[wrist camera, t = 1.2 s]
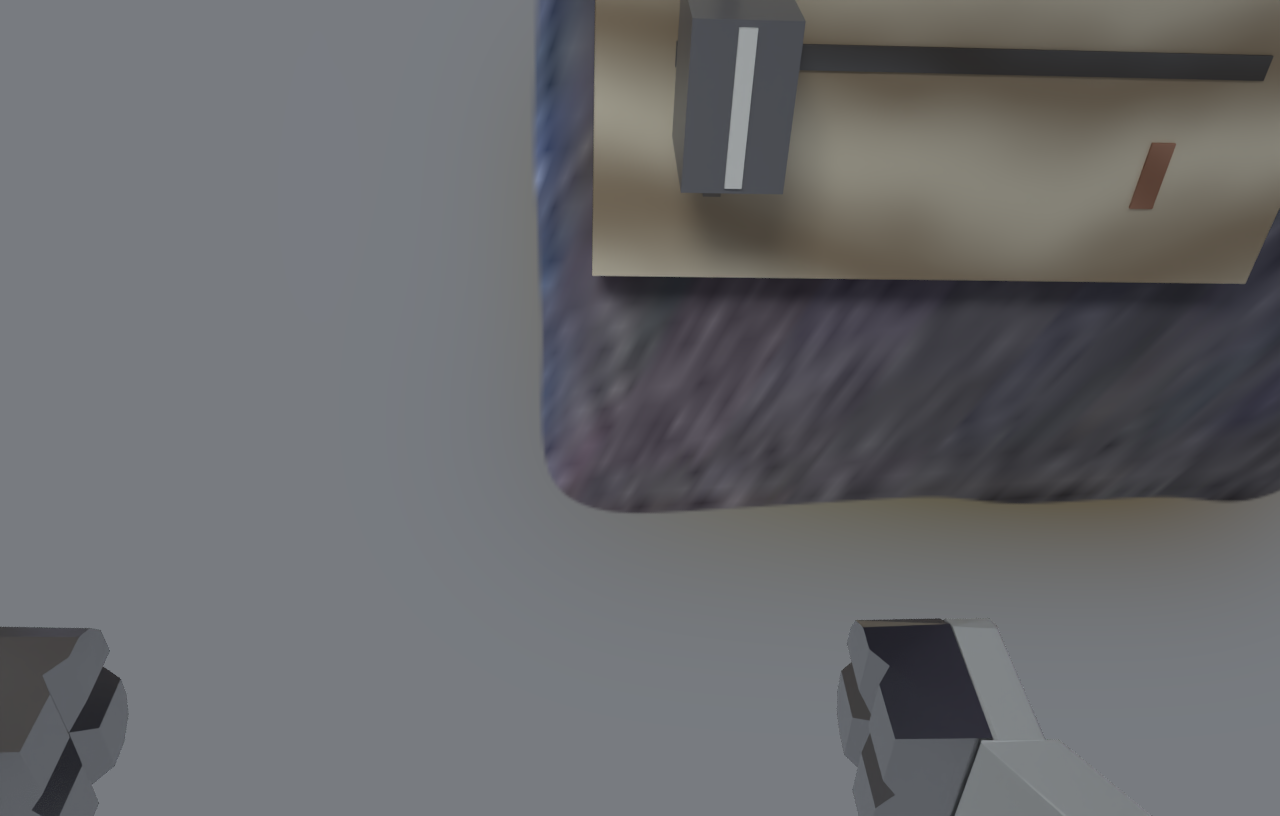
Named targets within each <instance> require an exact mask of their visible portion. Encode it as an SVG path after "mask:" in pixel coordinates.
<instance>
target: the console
mask: <svg viewBox="0 0 1280 816" xmlns="http://www.w3.org/2000/svg"><path fill="white" fill-rule="evenodd" d="M795 1H796V3H797V5H798V7H799V9H800V11H801V13H802V15H803V17H804V19H805V21H806V23H805V31H804V39H803V46H802V54H801V61H800V69H799V76H798V84H797V92H796V99H795V107H794V114H793V122H792V129H791V137H790V144H789V152H788V160H787V167H786V175H785V182H784V190H783V194H727V193H681V191H680V184H679V178H678V171H677V165H676V158H675V152H674V145H673V139H672V130H673V113H674V96H675V80H676V63H677V46H678V29H679V12H680V0H595V47H594V136H593V226H592V276H651V277H731V278H812V279H893V280H974V281H1055V282H1136V283H1216V284H1245V283H1246V281H1247V279H1248V277H1249V274H1250V272H1251V270H1252V268H1253V265H1254V263H1255V261H1256V259H1257V257H1258V254H1259V252H1260V250H1261V248H1262V246H1263V243H1264V241H1265V239H1266V237H1267V234H1268V232H1269V230H1270V228H1271V226H1272V223H1273V221H1274V219H1275V217H1276V215H1277V212H1278V210H1279V208H1280V0H795Z"/></svg>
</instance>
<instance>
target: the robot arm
mask: <svg viewBox="0 0 1280 816" xmlns="http://www.w3.org/2000/svg"><path fill="white" fill-rule="evenodd" d="M847 645H848V649H849V653H850V657H851V661H852V662H851V663H850V664H849V665H848V666H846V667H845V668H844V669H843V670H842V671H841V675H840V680H839V686H838V691H837V716H838V725H839V732H840V738H841V742H842V747H843V751H844V755H845V756H846V757H847V758H849V760H850V761H851V762H853V763H854V764H855V765H856V766H857V767H858V769H857V773H856V778H855V782H854V786H853V794H854V798H855V803H856V807H857V811H858V815H859V816H1152V815H1151V814H1149V813H1148V812H1147V811H1146V810H1144V809H1143V808H1142V807H1141V806H1140V805H1138V804H1137V803H1136V802H1135V801H1133V800H1132V799H1131V798H1129V796H1127V795H1126V794H1125V793H1124V792H1122V791H1121V790H1120V789H1119V788H1118V787H1116V786H1115V785H1114V784H1113V783H1111V782H1110V781H1109V780H1108V779H1106V778H1105V777H1104V776H1103V775H1101V774H1100V773H1099V772H1098V771H1097V770H1096V769H1094V768H1093V767H1092V766H1091V765H1089V764H1088V763H1087V762H1086V761H1084V760H1083V759H1082V758H1081V757H1080V756H1078V755H1077V754H1076V753H1075V752H1074V751H1072V750H1071V749H1070V748H1069V747H1067V746H1066V745H1065V744H1064V743H1062V742H1061V741H1060V740H1051V739H1045V737H1044V734H1043V732H1042V730H1041V728H1040V725H1039V723H1038V720H1037V718H1036V716H1035V714H1034V711H1033V709H1032V707H1031V704H1030V702H1029V700H1028V697H1027V695H1026V693H1025V690H1024V688H1023V686H1022V684H1021V681H1020V679H1019V676H1018V674H1017V672H1016V669H1015V667H1014V665H1013V662H1012V660H1011V658H1010V655H1009V654H1008V651H1007V648H1006V646H1005V644H1004V642H1003V639H1002V637H1001V634H1000V632H999V630H998V627H997V625H996V624H995V623H994V622H993V621H991V620H990V619H989V618H982V619H981V618H978V619H977V618H976V619H944V620H941V619H895V620H856V621H855V622H854V624H853V625H852V627H851V629H850V633H849V638H848V642H847ZM109 652H110V650H109V648H108V645H107V643H106V641H105V639H104V637H103V634H102V632H101V630H97V629H91V628H42V627H0V816H94V814H95V811H96V809H97V807H98V804H99V802H98V799H97V797H96V794H95V792H94V789H93V787H92V784H93V783H95V782H96V781H97V780H98V779H99V778H101V777H102V776H103V775H104V774H105V773H107V772H108V771H109V770H110V769H112V767H114V766H115V764H116V761H117V759H118V756H119V754H120V751H121V748H122V746H123V743H124V739H125V733H126V726H127V720H128V705H127V696H126V692H125V689H124V686H123V684H122V681H121V679H120V678H119V677H117V676H116V675H114V674H113V673H112V672H110V671H109V670H107V669H106V668H104V667H103V665H104V663H105V660H106V658H107V656H108V654H109Z"/></svg>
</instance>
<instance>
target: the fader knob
mask: <svg viewBox="0 0 1280 816" xmlns="http://www.w3.org/2000/svg"><path fill="white" fill-rule="evenodd" d="M805 23H806V21H805V19H804V17H803V15H802V13H801V11H800V9H799V7H798V5H797V3H796V1H795V0H680V12H679V29H678V46H677V63H676V80H675V96H674V113H673V130H672V139H673V145H674V152H675V158H676V165H677V171H678V178H679V184H680V191H681V193H727V194H783V190H784V182H785V175H786V167H787V160H788V152H789V144H790V137H791V129H792V122H793V114H794V107H795V99H796V92H797V84H798V76H799V69H800V61H801V54H802V46H803V39H804V31H805Z"/></svg>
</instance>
